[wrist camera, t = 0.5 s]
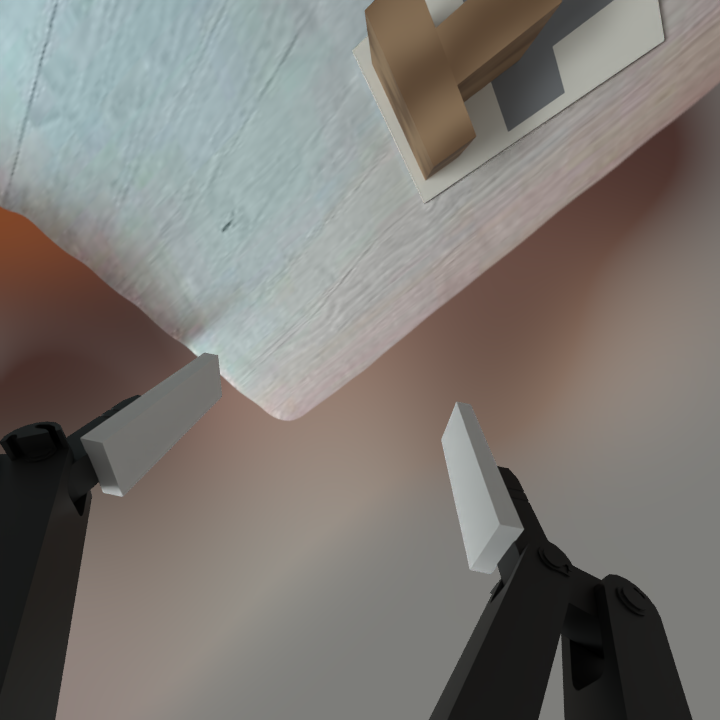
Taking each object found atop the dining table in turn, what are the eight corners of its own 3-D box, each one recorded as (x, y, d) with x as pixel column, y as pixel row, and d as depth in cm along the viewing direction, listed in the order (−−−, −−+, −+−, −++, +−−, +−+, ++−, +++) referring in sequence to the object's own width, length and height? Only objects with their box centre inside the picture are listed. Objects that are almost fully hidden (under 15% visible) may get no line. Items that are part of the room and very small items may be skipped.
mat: (353, 53, 28) (352, 50, 28) (619, -202, 20) (624, -212, 20) (423, 203, 33) (424, 203, 32) (659, 43, 25) (664, 40, 25)
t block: (371, 63, 28) (364, 10, 21) (488, -43, 24) (524, -150, 17) (425, 180, 31) (433, 166, 25) (533, 104, 28) (577, 63, 21)
